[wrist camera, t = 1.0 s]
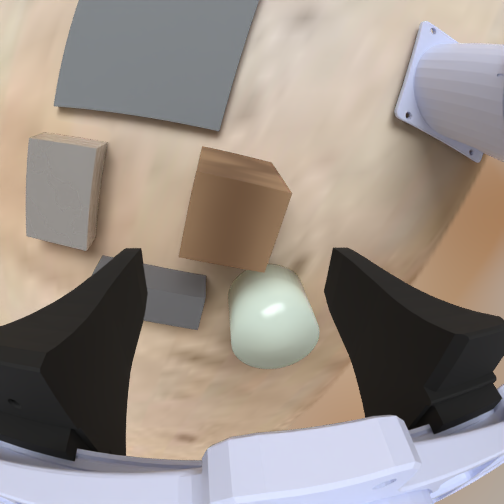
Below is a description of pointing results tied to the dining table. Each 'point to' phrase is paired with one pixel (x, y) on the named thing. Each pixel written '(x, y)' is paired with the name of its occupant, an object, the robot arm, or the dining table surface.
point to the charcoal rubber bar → (171, 295)
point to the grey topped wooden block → (63, 188)
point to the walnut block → (234, 211)
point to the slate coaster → (155, 58)
